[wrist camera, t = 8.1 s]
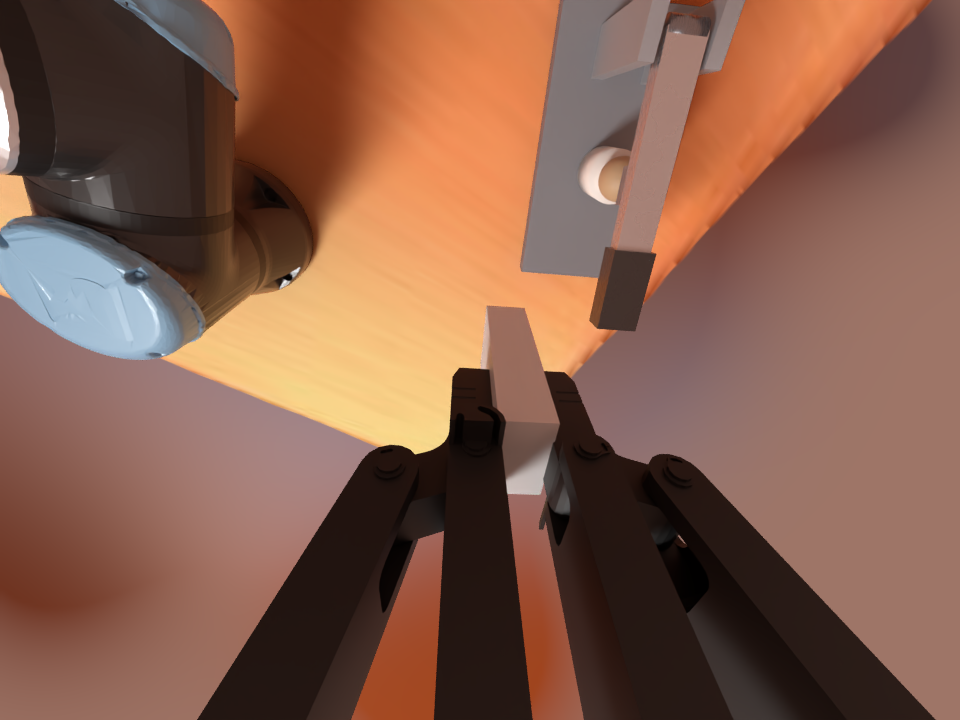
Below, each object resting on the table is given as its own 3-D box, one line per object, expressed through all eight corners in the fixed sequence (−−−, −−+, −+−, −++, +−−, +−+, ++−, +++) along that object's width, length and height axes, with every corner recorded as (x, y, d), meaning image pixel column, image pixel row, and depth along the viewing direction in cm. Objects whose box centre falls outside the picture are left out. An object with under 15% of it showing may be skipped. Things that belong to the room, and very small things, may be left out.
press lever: (587, 318, 36) (597, 328, 34) (650, 23, 27) (671, 3, 24) (622, 321, 37) (635, 331, 34) (697, 29, 27) (722, 10, 24)
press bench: (519, 266, 48) (535, 312, 36) (560, -5, 34) (607, -72, 22) (622, 274, 49) (670, 322, 37) (703, 14, 35) (820, -42, 23)
